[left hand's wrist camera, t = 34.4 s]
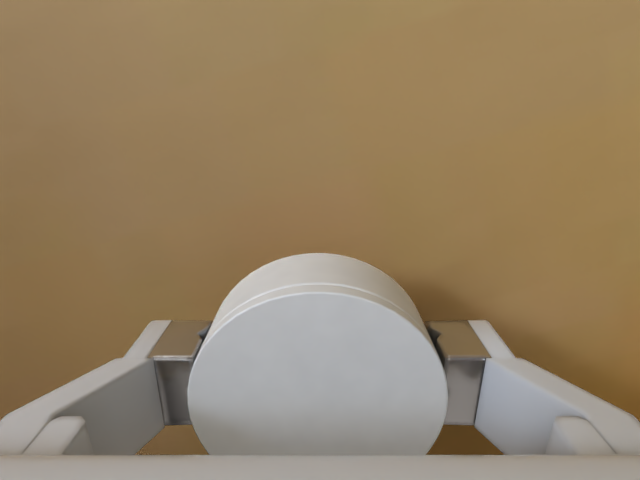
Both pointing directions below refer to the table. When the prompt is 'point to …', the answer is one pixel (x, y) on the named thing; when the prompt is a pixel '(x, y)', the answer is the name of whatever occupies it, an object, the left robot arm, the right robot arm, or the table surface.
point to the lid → (317, 365)
